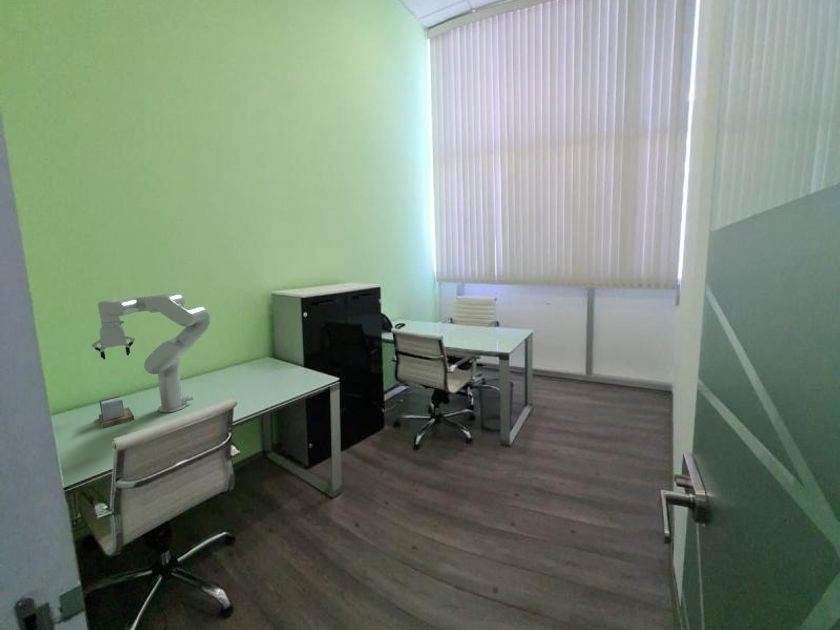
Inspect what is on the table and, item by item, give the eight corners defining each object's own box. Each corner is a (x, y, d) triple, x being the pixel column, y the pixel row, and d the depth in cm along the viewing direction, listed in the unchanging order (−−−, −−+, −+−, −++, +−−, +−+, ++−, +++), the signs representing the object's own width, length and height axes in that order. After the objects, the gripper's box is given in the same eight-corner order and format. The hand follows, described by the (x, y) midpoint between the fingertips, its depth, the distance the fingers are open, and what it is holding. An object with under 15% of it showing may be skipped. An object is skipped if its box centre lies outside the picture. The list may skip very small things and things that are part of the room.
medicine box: (123, 413, 189) (120, 396, 187) (125, 415, 186) (122, 399, 184) (103, 418, 183) (100, 401, 181) (104, 421, 180) (101, 404, 178)
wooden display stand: (128, 410, 196) (126, 392, 194) (134, 419, 186) (131, 400, 184) (99, 418, 187) (95, 399, 185) (103, 428, 178) (99, 408, 176)
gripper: (130, 321, 199) (135, 352, 202) (87, 326, 187) (93, 359, 190) (133, 323, 194) (138, 354, 197) (89, 328, 182) (95, 362, 185)
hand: (116, 356), depth 194 cm, fingers open, 9 cm apart
